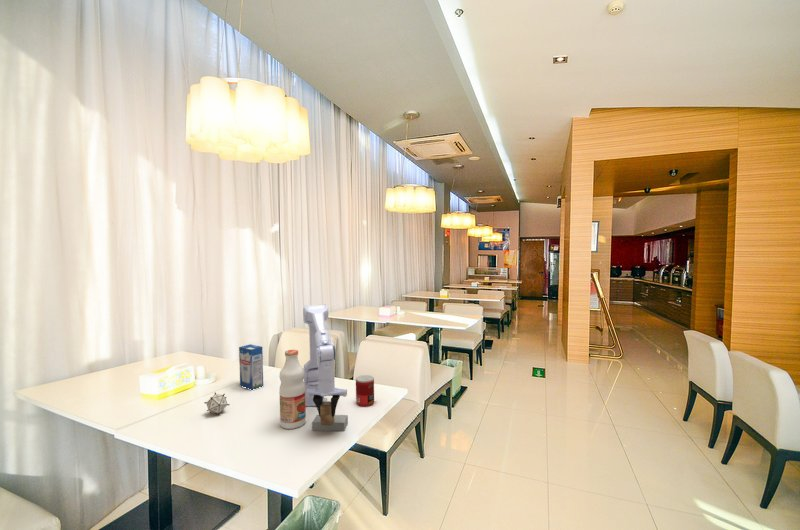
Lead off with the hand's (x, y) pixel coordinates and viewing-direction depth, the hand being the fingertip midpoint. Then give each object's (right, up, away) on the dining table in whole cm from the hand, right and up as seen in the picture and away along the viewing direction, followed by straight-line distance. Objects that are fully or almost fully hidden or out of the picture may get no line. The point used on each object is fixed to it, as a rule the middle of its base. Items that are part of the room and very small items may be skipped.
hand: (327, 415), depth 124 cm
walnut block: (0, -3, 0) cm, 3 cm away
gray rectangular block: (0, -6, +4) cm, 7 cm away
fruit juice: (-15, -6, +7) cm, 17 cm away
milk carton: (-47, -6, +46) cm, 66 cm away
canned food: (+11, -6, +24) cm, 28 cm away
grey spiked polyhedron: (-49, -7, +17) cm, 52 cm away
